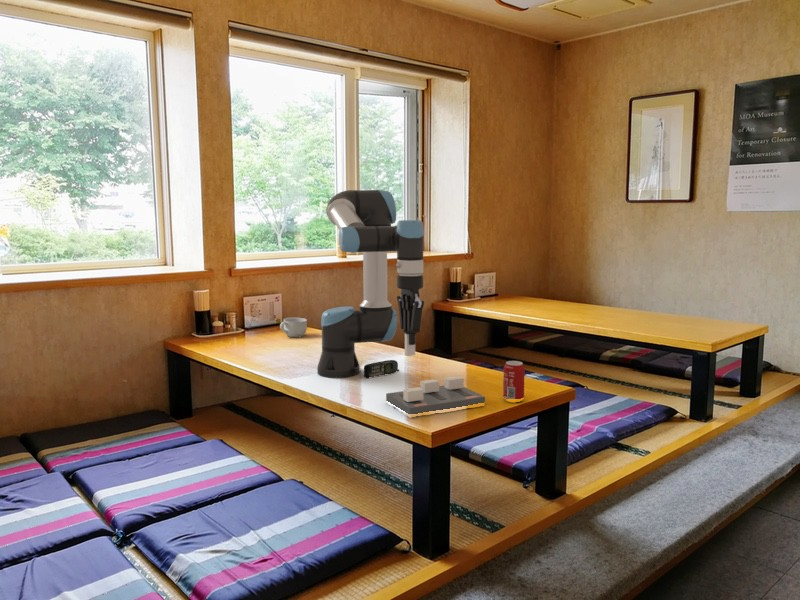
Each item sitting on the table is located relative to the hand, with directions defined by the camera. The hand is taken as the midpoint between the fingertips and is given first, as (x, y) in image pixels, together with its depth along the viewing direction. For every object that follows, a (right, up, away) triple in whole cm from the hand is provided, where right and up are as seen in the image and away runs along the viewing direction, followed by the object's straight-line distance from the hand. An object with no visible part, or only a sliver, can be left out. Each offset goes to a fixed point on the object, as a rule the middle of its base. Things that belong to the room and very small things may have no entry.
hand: (409, 354), depth 188 cm
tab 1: (+1, -13, 0) cm, 13 cm away
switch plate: (+8, -15, +6) cm, 18 cm away
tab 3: (+14, -11, +12) cm, 21 cm away
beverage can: (+32, -15, +10) cm, 37 cm away
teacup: (-52, -1, +109) cm, 121 cm away
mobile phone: (-9, -11, +41) cm, 43 cm away
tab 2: (+6, -12, +9) cm, 16 cm away
